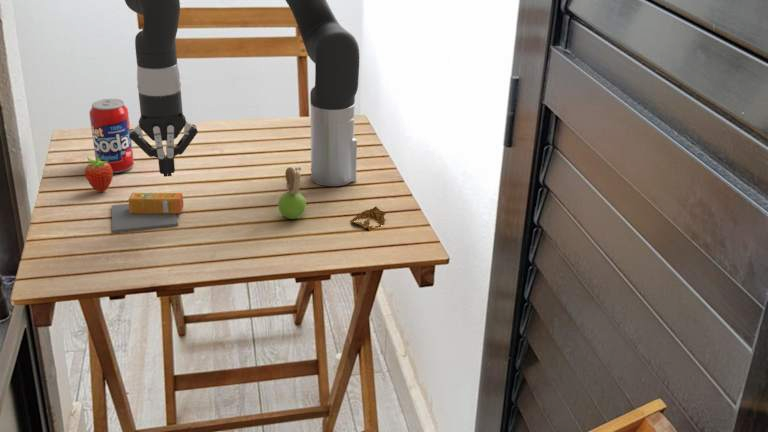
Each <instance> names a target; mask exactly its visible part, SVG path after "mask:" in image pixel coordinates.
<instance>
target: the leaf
mask: <svg viewBox="0 0 768 432" xmlns="http://www.w3.org/2000/svg"><path fill="white" fill-rule="evenodd" d="M385 215H386V212H385V211H382V210H380V209H379V208H378V206H376V205H375V206H374V207H373V208H370V209H366V210H364V211H361V212H359V213H357V214H356V216H355V217H353V218H352V219H350V222H351V223H352V224H353V223H355V224H358V225H359V226H360V227H362V228H364V229H366V228H367V229H368V230H369V231H371V230H376V229H378V227H379V228H382V227H381V225H384V226H385V223H386V222H385V221H386V218H385ZM357 219H358V220H359V221H358V220H357ZM361 219H362V220H364V222H363V223H362V222H361V221H360V220H361ZM365 219H366V220H365ZM372 220H374V221H375V223H376V224H377V223H378V225H371V223H370V222H371V221H372ZM354 221H355V222H354ZM376 221H377V222H376ZM379 224H380V225H379ZM369 225H370V226H369ZM373 226H375V227H373Z"/></svg>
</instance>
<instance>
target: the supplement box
mask: <svg viewBox="0 0 768 432" xmlns="http://www.w3.org/2000/svg"><path fill="white" fill-rule="evenodd" d="M128 204H129V210H130V213H139V214H140V213H141V214H157V213H176V214H181V213H182V211H183V209H184V198H183V192H132V193H131V194H130V196H129V198H128Z"/></svg>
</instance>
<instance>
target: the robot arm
mask: <svg viewBox="0 0 768 432" xmlns="http://www.w3.org/2000/svg"><path fill="white" fill-rule="evenodd" d="M124 2H125V4H126V5H127V7H128V8H129V10H131V11H133V12H134V13H136V14H139V15H142V16H143V26H142V30H140V31H139V32H138V33H137V34H136V35H135V37H134V38H135V40H134V44H135V48H134V49H135V57H136V58H135V59H136V66H137V67H136V68H137V69H136V81H137V87H136V88H137V90H138V101H139V109H140V110H139V111H140V118H139V119H138V125H137V126H135V127H134V128H130V130H129V137H130V139H131V141H133V143H135V144H136V146H138V147H139V148H140V149H141V150H142V151H143V152H144V153H145V155H147V156H148V157H149V158H152V157H154V158H156V159H157V160H158V170H159V173H160V174H161V175H162V174H163V177H165V178H166V177H172V176H173V175H172V174H175V171H176V168H175V167H176V166H175V157H176V156H178V155H183V154H184V152H185V151H186V149H187V148H188V147H189V145H190V144H191V143H192V142H193V140H194V138H195V137H196V136H197V134H198V128H197V125H195V124H191V123H189V122H188V121H187V119H186V116H185V115H184V112H183V102H182V89H181V88H182V87H181V86H182V84H181V77H180V71H179V65H178V56H177V45H176V39H177V33H178V28H179V20H180V14H181V13H180V12H181V2H180V0H124ZM285 2H286V3H287V5H288V7H289V8H290V10H291V13H292V15H293V17H294V20H295V22H296V26H297V29H298V30H299V34H300V37H301V39H302V43H303V45H304V47H305V51H306V54H307V55H308V57H309V59H310V60H311V61H312V62H313V63H314V65H315V66H314V67H315V73H314V75H315V77H314V86H313V87H312V88H311V90H310V98H309V100H310V102H309V103H310V172H311V173H310V174H311V175H310V176H311V177H310V178H311V180H312V182H313V183H315V184H317V185H320V186H326V187H340V186H345V185H348V184H350V183H352V182H357V165H358V164H357V160H358V158H357V154H358V153H357V151H358V149H357V147H358V141H357V138H356V137H355V106H356V105H355V103H356V102H355V99H356V95H357V93H358V88H359V79H360V78H359V74H360V47H359V43H358V41H357V39H356V38H355V36H354V35H353V34H352V33H350V32H349V31H348V30H347V29H345V28H344V27H342V25H341V24H340V23H339V21H338V20H337V18H336V16H335V14H334V13H333V11H332V9H331V6H330V5H329V3H328V1H327V0H285ZM182 130H183V135H182V137H181V138H180V140H179V141H178V142H177V144H176V145H175V139H176V138H178V137H179V135H180V133H182ZM143 132H144V133H145V134H146V136H147V137H148V138H150V139H151V140H152V141H154V143H155V147H153V146H152V145H151V143H149V142H148V141H147V140H146V139H145V138H144V134H143ZM164 141H165V145H166V146H165V147H166V148H165V150H166V152H165V150H164V144H163V142H164ZM165 153H166V154H165Z"/></svg>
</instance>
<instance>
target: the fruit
mask: <svg viewBox="0 0 768 432" xmlns="http://www.w3.org/2000/svg"><path fill="white" fill-rule="evenodd" d="M86 159H87V161H89V163H87V165H86V167H85V170H84V175H85V178H86V181H87V182H88V184H89V185H90V186H91V187H92V188H93V190H95V191H96V192H100V193H103V192H105V191H107V189H108V188H109V187H110V185H111V183H112V180H113V176H114V173H113V170H112V167H111V166H110V164H108V163H107V161H108V160H107V161H101V160H100V158H99V157H98V156H96V158H95V160H94V159H91V158H89V157H87V158H86Z"/></svg>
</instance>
